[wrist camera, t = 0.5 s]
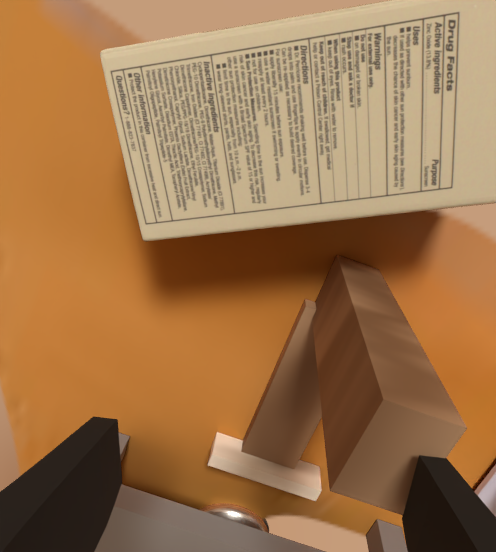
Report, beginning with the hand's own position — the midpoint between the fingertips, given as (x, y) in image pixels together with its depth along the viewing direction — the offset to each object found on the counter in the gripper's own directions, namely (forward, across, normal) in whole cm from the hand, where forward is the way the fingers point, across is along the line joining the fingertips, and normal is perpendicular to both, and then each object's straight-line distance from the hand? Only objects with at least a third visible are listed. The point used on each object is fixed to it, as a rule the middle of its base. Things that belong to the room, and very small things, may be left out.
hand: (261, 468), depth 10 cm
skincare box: (+8, +6, -7) cm, 12 cm away
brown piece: (+10, -2, +4) cm, 11 cm away
